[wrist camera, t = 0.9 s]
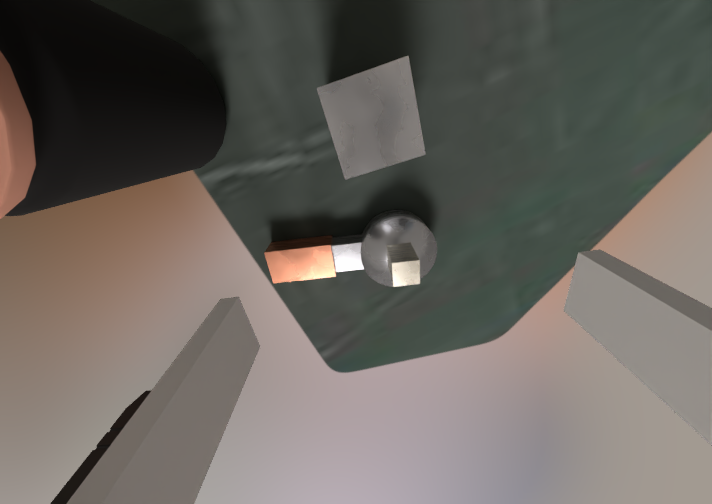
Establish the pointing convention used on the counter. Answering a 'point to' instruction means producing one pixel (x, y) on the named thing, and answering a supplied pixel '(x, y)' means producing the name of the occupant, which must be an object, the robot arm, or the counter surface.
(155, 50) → the coffee jar
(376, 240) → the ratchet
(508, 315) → the counter surface
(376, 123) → the silver metal block
